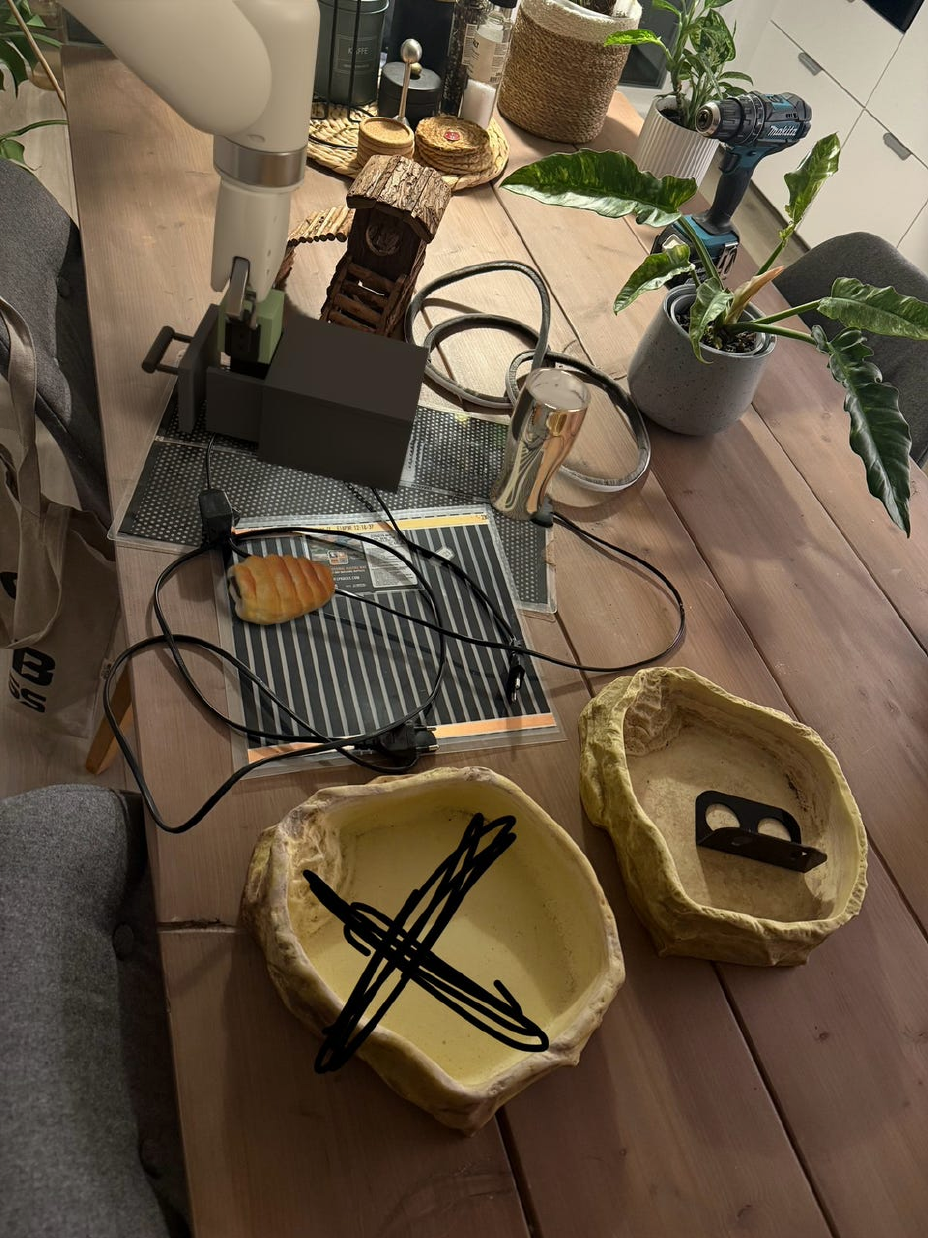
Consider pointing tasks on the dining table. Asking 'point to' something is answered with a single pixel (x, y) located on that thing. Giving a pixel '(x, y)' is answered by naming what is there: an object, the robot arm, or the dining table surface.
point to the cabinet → (341, 403)
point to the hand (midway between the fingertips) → (249, 339)
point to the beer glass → (539, 440)
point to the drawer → (212, 381)
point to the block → (259, 322)
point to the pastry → (279, 588)
